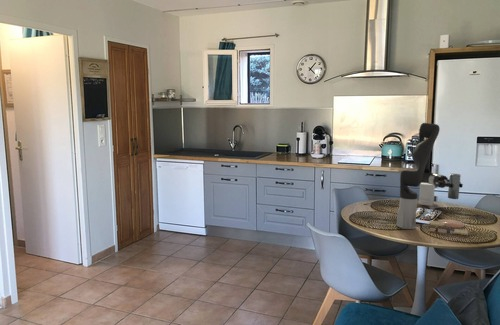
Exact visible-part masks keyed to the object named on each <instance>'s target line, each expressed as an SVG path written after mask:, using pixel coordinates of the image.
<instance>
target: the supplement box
mask: <svg viewBox="0 0 500 325" xmlns="http://www.w3.org/2000/svg"><path fill="white" fill-rule="evenodd" d="M435 188H436V186H434V185H432V184H429V183H420V185H419V195H418V196H419V197H418V205H421V206H430V207H433V206H434V204H435V191H436V190H435Z"/></svg>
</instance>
